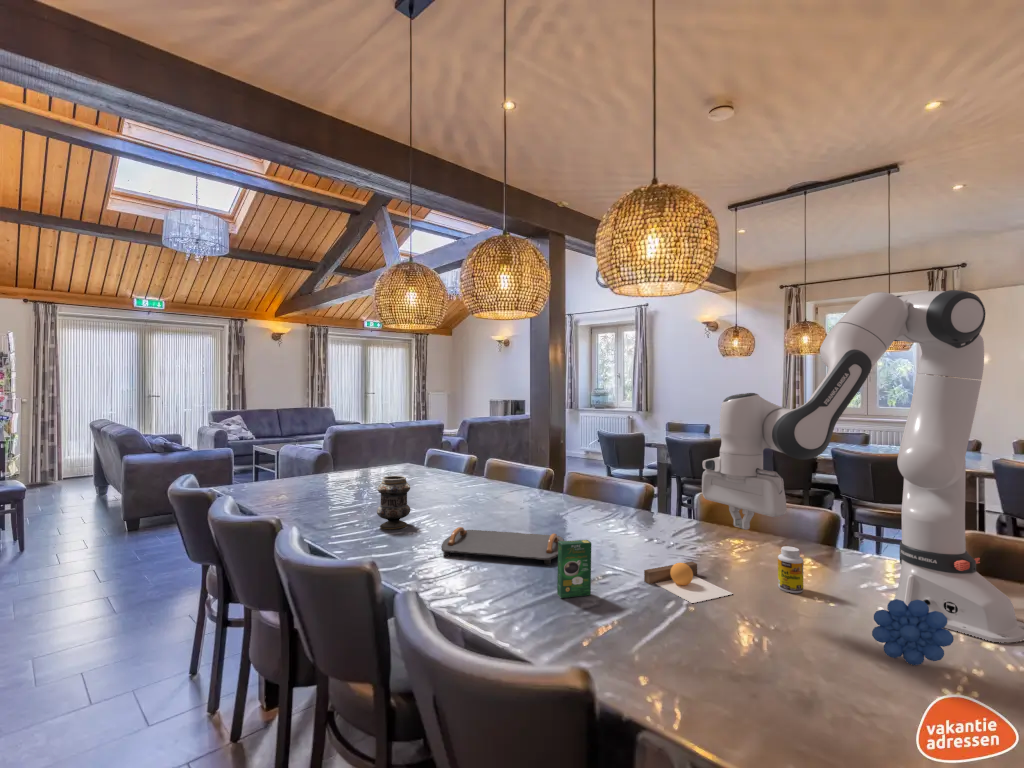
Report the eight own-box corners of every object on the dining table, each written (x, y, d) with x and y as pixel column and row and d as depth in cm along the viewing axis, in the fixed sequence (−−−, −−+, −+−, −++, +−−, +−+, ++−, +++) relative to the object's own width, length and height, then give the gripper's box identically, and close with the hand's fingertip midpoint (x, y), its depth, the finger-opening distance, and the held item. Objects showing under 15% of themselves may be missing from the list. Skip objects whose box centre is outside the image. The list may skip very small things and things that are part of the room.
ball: (699, 570, 126) (684, 555, 130) (682, 575, 124) (668, 560, 128) (695, 587, 128) (680, 572, 132) (678, 592, 126) (664, 577, 130)
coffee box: (587, 591, 124) (587, 538, 124) (592, 595, 121) (591, 541, 122) (556, 594, 122) (556, 540, 122) (560, 599, 119) (560, 544, 120)
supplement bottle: (777, 591, 124) (777, 549, 124) (778, 583, 129) (777, 543, 129) (803, 595, 121) (803, 553, 121) (803, 587, 126) (803, 547, 126)
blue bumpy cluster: (955, 666, 90) (954, 599, 90) (953, 683, 85) (952, 612, 85) (875, 644, 98) (875, 582, 98) (870, 658, 93) (869, 593, 93)
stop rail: (697, 574, 135) (697, 563, 135) (649, 584, 128) (649, 572, 128) (691, 572, 137) (691, 561, 137) (644, 581, 130) (644, 570, 130)
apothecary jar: (417, 524, 186) (417, 476, 187) (393, 532, 176) (393, 481, 176) (393, 520, 193) (393, 473, 193) (369, 527, 183) (369, 478, 183)
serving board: (431, 558, 150) (431, 538, 150) (458, 536, 173) (458, 518, 173) (559, 569, 141) (559, 547, 141) (570, 545, 163) (570, 526, 163)
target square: (733, 594, 122) (733, 593, 122) (692, 603, 117) (692, 603, 117) (694, 576, 134) (694, 575, 134) (655, 584, 128) (655, 583, 128)
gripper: (793, 471, 103) (794, 538, 103) (716, 459, 122) (717, 516, 122) (771, 473, 101) (772, 542, 101) (697, 460, 120) (697, 518, 120)
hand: (741, 527), depth 112 cm, fingers closed
